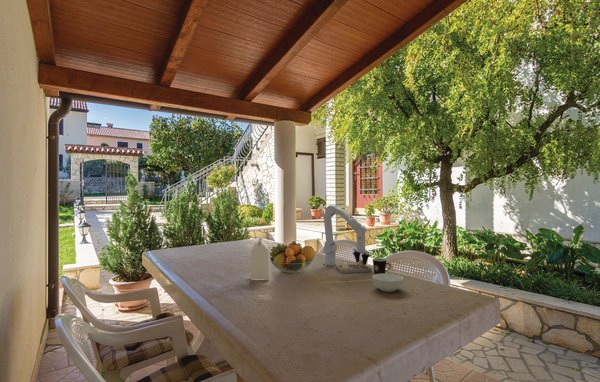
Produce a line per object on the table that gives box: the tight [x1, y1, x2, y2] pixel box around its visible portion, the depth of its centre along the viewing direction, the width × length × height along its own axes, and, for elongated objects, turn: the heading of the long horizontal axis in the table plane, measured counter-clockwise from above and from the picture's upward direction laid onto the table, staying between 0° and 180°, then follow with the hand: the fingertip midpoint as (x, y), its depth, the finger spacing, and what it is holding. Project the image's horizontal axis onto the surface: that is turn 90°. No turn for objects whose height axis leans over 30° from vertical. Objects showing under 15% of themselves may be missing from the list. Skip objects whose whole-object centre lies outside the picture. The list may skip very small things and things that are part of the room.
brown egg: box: [357, 258, 364, 266], centre depth 227 cm, size 4×4×6 cm
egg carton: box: [335, 263, 372, 274], centre depth 223 cm, size 14×20×3 cm
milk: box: [250, 235, 272, 281], centre depth 209 cm, size 12×12×26 cm
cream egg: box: [342, 261, 349, 270], centre depth 218 cm, size 4×4×6 cm
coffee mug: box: [372, 257, 392, 275], centre depth 210 cm, size 12×9×10 cm
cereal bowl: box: [371, 273, 405, 293], centre depth 181 cm, size 17×17×7 cm
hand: (361, 263), depth 227 cm, fingers open, 7 cm apart
